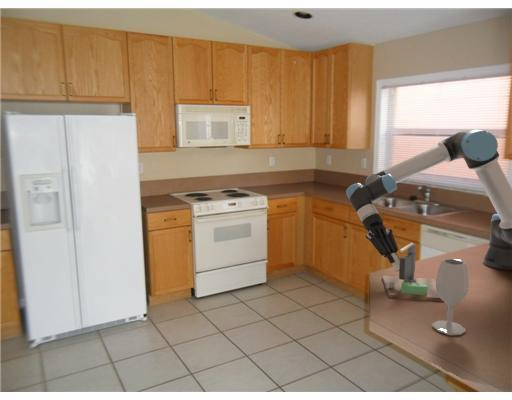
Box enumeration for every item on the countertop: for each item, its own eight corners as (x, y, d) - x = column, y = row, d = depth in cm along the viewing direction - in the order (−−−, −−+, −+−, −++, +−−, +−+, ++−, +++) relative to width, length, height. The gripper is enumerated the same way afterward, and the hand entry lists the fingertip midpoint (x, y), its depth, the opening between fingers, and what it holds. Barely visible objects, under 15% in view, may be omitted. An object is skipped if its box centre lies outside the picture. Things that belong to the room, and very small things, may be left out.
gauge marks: (428, 291, 148) (428, 283, 147) (426, 296, 143) (426, 288, 143) (387, 284, 154) (388, 277, 154) (384, 289, 150) (385, 281, 149)
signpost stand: (406, 278, 161) (408, 240, 158) (417, 280, 158) (420, 242, 156) (393, 288, 150) (395, 248, 147) (405, 291, 147) (407, 250, 145)
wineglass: (426, 326, 124) (430, 259, 121) (447, 320, 127) (452, 255, 124) (449, 339, 116) (455, 267, 113) (471, 333, 119) (477, 263, 116)
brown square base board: (432, 281, 161) (432, 278, 161) (446, 301, 142) (446, 298, 142) (382, 278, 165) (382, 275, 164) (389, 297, 145) (389, 294, 145)
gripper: (376, 221, 171) (405, 271, 160) (352, 224, 165) (381, 277, 153) (387, 211, 166) (418, 262, 155) (363, 214, 159) (393, 268, 148)
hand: (399, 269), depth 154 cm, fingers closed
